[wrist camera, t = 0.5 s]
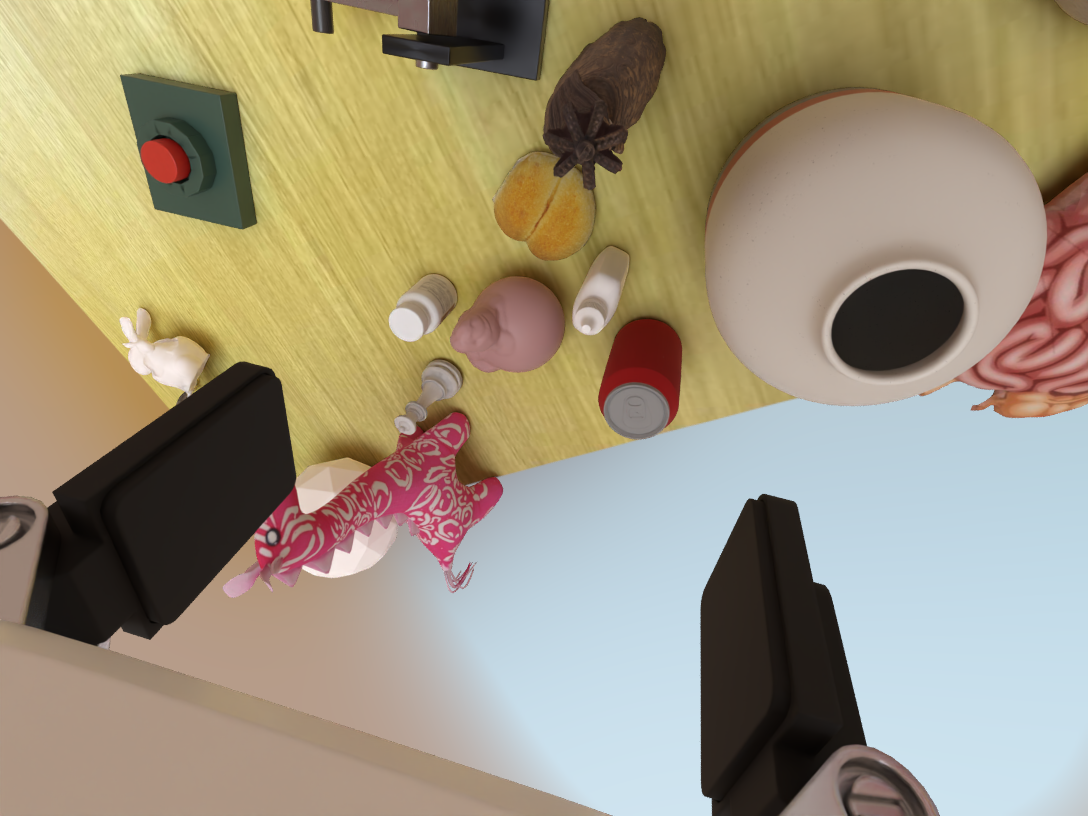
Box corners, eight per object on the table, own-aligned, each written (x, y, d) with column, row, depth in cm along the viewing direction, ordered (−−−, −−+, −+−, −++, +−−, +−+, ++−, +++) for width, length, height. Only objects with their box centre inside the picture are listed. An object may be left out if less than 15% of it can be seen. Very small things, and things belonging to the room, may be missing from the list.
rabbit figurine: (190, 398, 73) (106, 364, 69) (218, 348, 75) (139, 311, 71) (186, 391, 63) (87, 350, 58) (219, 333, 65) (126, 289, 60)
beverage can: (617, 378, 58) (600, 447, 48) (609, 318, 55) (589, 379, 45) (684, 374, 56) (681, 445, 46) (680, 311, 52) (675, 374, 43)
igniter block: (139, 73, 52) (101, 75, 49) (236, 92, 51) (204, 96, 48) (171, 204, 59) (140, 213, 56) (256, 223, 58) (230, 235, 55)
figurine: (454, 305, 58) (404, 360, 48) (535, 244, 52) (497, 293, 42) (507, 369, 61) (471, 433, 51) (590, 319, 55) (566, 379, 45)
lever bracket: (422, 57, 46) (341, 64, 35) (424, -52, 42) (332, -81, 31) (540, 79, 45) (491, 93, 34) (553, -31, 41) (502, -53, 30)
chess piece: (448, 397, 65) (405, 454, 57) (420, 370, 63) (372, 425, 56) (470, 380, 62) (428, 438, 54) (441, 352, 61) (394, 406, 53)
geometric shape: (420, 478, 79) (332, 523, 81) (352, 416, 68) (253, 469, 70) (429, 565, 69) (328, 614, 71) (350, 509, 58) (235, 568, 60)
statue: (647, 150, 46) (605, 242, 25) (557, 133, 47) (448, 210, 26) (675, 23, 41) (650, 11, 20) (574, 7, 42) (454, -19, 21)
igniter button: (151, 134, 51) (135, 137, 50) (186, 142, 51) (171, 145, 49) (161, 175, 53) (146, 179, 52) (195, 183, 53) (180, 187, 51)
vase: (696, 299, 51) (693, 457, 32) (714, 88, 42) (725, 133, 23) (902, 304, 47) (1038, 486, 28) (970, 73, 38) (1240, 111, 19)
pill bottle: (430, 318, 59) (398, 351, 53) (410, 279, 57) (375, 310, 51) (465, 307, 58) (436, 340, 51) (446, 267, 56) (414, 297, 49)
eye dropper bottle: (645, 276, 51) (633, 332, 42) (597, 308, 54) (574, 367, 44) (618, 237, 50) (598, 286, 40) (570, 272, 53) (540, 325, 43)
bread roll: (564, 270, 53) (555, 285, 50) (487, 211, 52) (472, 223, 48) (618, 197, 48) (612, 209, 45) (534, 131, 47) (522, 138, 44)
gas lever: (331, 32, 42) (302, 29, 40) (326, -54, 39) (294, -61, 37) (455, 63, 36) (427, 61, 34) (460, -35, 33) (429, -42, 31)
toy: (431, 343, 61) (244, 534, 37) (524, 519, 72) (426, 759, 47) (371, 362, 65) (164, 548, 40) (468, 527, 75) (350, 755, 51)
